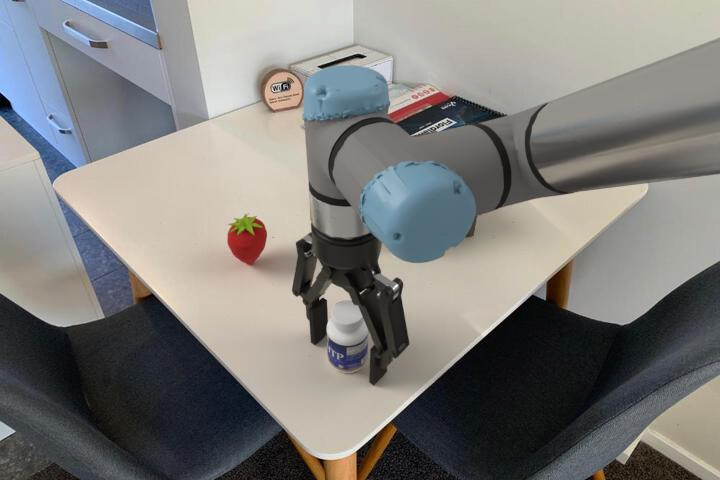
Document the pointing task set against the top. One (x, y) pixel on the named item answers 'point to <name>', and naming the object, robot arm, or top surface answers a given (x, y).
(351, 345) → the pill bottle
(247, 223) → the strawberry
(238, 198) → the top surface
